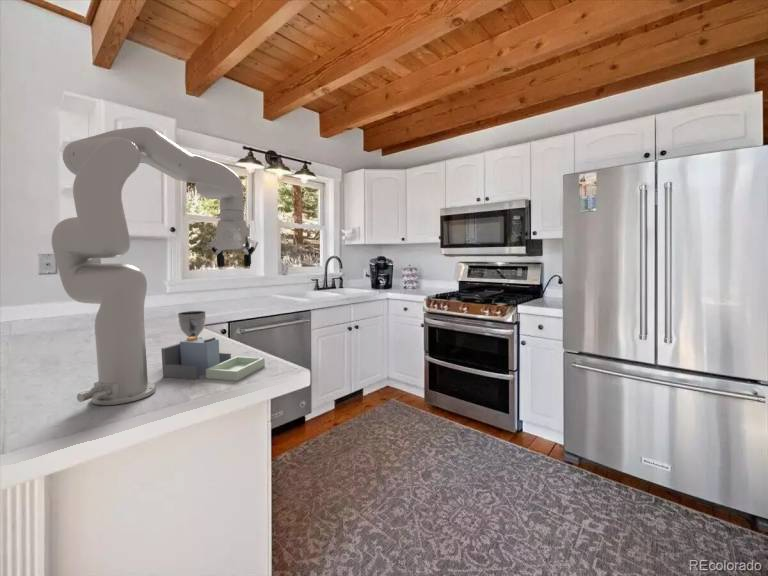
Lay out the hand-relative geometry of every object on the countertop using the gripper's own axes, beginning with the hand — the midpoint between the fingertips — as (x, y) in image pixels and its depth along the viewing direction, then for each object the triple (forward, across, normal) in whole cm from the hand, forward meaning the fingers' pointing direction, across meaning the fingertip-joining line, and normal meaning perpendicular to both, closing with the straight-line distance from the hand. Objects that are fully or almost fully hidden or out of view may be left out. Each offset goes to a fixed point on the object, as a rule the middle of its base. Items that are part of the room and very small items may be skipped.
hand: (234, 266), depth 127 cm
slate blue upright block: (+30, +1, -23) cm, 38 cm away
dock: (+30, +1, -23) cm, 37 cm away
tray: (+30, +12, -23) cm, 40 cm away
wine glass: (+30, -10, -9) cm, 33 cm away
